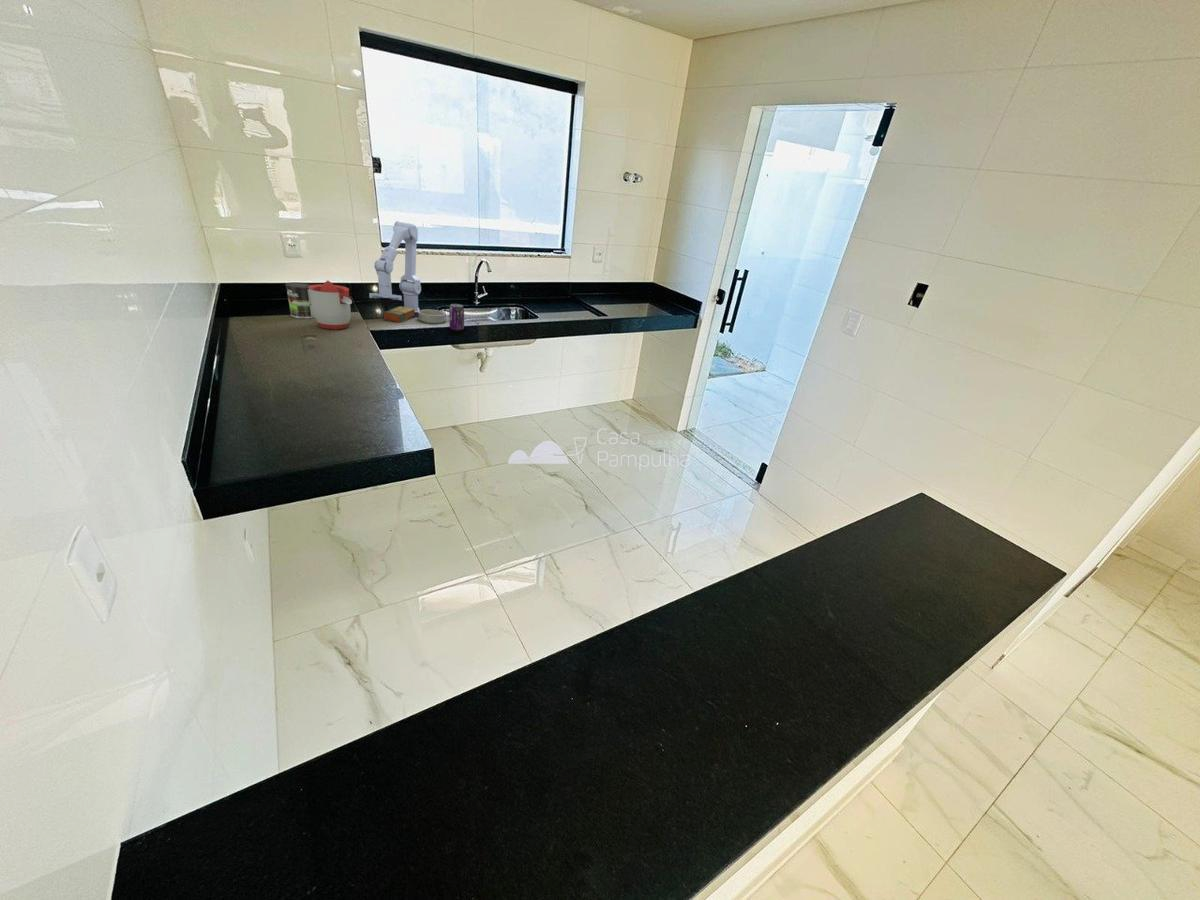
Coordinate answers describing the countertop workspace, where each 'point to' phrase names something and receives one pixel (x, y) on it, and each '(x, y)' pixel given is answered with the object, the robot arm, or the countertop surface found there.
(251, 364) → the countertop surface
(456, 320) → the beverage can
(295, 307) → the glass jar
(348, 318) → the citrus juicer
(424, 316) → the beige round dish
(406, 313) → the carton
